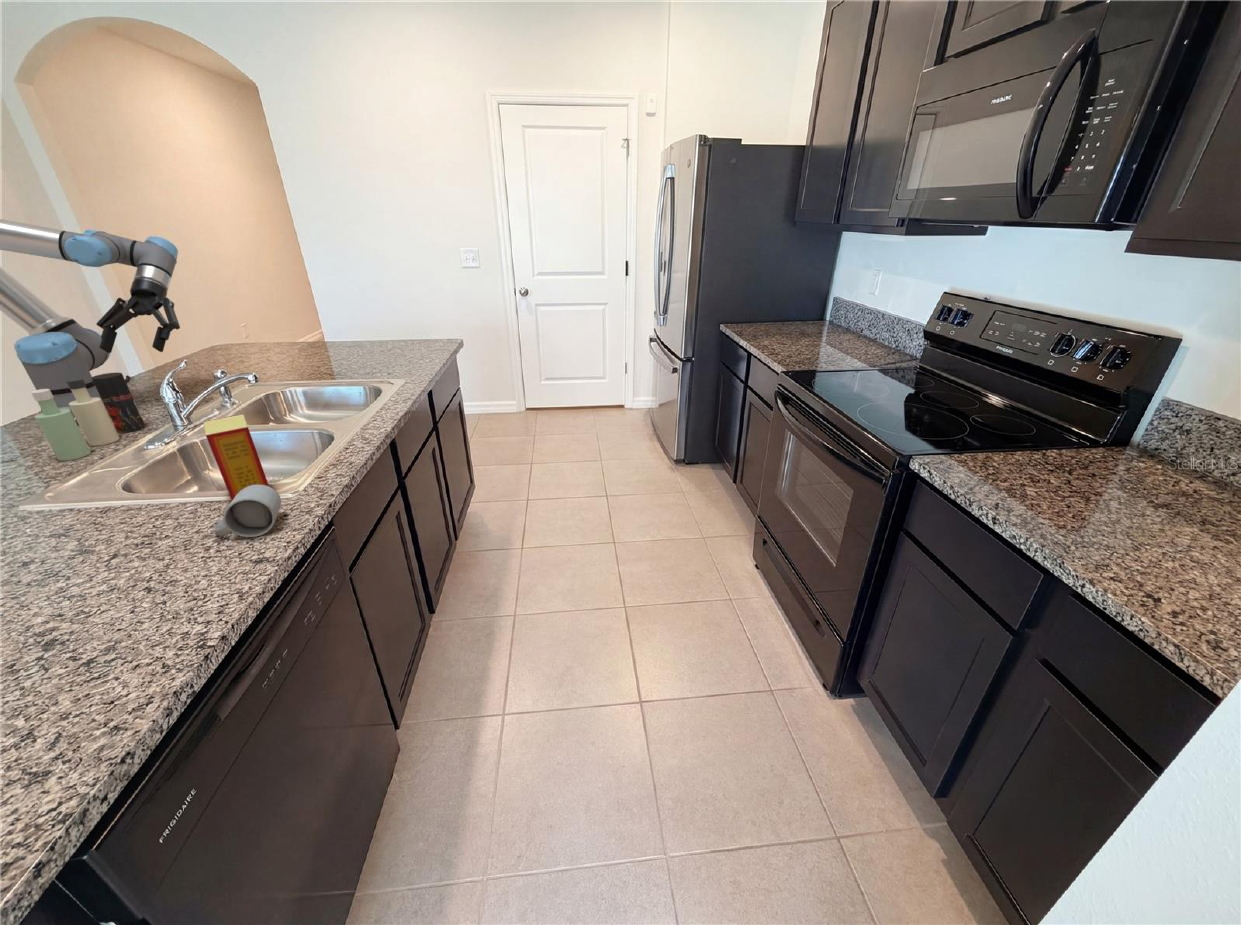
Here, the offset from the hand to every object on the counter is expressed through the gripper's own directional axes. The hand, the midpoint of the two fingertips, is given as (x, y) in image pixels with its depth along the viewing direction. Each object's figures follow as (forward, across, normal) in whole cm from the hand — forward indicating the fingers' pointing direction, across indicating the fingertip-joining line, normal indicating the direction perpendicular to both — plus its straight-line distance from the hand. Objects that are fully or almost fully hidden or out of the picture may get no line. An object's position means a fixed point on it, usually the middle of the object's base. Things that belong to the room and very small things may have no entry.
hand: (131, 350), depth 140 cm
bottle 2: (+27, 0, 0) cm, 27 cm away
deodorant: (+21, 0, -6) cm, 22 cm away
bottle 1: (+34, 0, +6) cm, 34 cm away
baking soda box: (+50, -55, +23) cm, 78 cm away
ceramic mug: (+60, -62, +33) cm, 92 cm away
